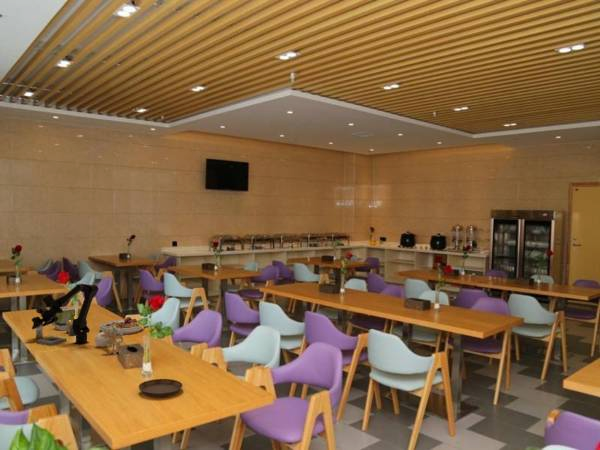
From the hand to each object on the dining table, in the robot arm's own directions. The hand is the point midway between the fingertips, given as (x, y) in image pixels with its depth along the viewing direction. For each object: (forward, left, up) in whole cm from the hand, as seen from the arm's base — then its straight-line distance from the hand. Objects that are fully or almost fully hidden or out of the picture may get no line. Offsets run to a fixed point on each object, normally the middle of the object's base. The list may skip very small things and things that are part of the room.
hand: (37, 327), depth 338 cm
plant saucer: (-135, +43, -8) cm, 142 cm away
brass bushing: (-6, -21, -7) cm, 23 cm away
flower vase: (-60, -1, -7) cm, 61 cm away
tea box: (+6, -31, -7) cm, 32 cm away
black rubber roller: (-13, -18, -7) cm, 23 cm away
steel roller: (-1, 0, -7) cm, 7 cm away
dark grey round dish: (-17, +3, -7) cm, 19 cm away
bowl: (-31, -45, -8) cm, 55 cm away
